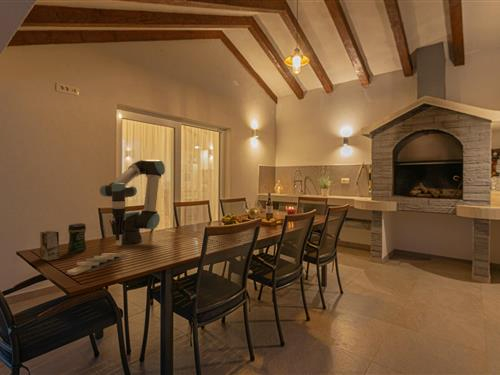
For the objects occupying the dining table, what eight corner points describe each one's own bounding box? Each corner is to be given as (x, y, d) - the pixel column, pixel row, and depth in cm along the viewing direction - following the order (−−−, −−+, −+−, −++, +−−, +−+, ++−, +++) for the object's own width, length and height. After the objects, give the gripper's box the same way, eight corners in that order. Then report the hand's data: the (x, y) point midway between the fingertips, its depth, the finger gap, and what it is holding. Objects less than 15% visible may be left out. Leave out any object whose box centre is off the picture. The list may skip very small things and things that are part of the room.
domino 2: (92, 261, 148) (77, 261, 139) (99, 262, 147) (85, 262, 138) (91, 264, 148) (76, 264, 138) (99, 265, 147) (84, 265, 137)
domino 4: (107, 256, 159) (94, 255, 150) (114, 256, 158) (101, 256, 148) (106, 258, 159) (93, 258, 149) (113, 259, 157) (101, 259, 148)
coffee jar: (72, 254, 168) (72, 225, 167) (66, 252, 172) (65, 224, 171) (88, 250, 176) (88, 223, 175) (81, 248, 180) (81, 222, 179)
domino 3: (100, 258, 154) (86, 258, 144) (107, 259, 152) (93, 259, 143) (99, 261, 153) (85, 261, 144) (106, 262, 152) (93, 262, 143)
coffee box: (59, 258, 159) (59, 232, 159) (47, 261, 154) (46, 233, 153) (52, 255, 164) (52, 230, 163) (40, 258, 158) (39, 232, 158)
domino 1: (83, 264, 143) (66, 270, 133) (91, 265, 142) (74, 271, 132) (83, 267, 143) (66, 274, 133) (91, 268, 142) (74, 275, 132)
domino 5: (114, 253, 164) (102, 253, 155) (120, 254, 163) (109, 253, 154) (113, 256, 164) (101, 255, 155) (120, 256, 163) (108, 256, 153)
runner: (113, 254, 168) (113, 253, 168) (129, 256, 166) (129, 255, 165) (71, 270, 139) (71, 269, 139) (89, 272, 136) (89, 272, 136)
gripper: (121, 206, 171) (121, 242, 172) (105, 208, 158) (106, 247, 160) (131, 206, 169) (131, 242, 170) (116, 209, 157) (116, 248, 158)
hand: (119, 245), depth 165 cm, fingers closed
